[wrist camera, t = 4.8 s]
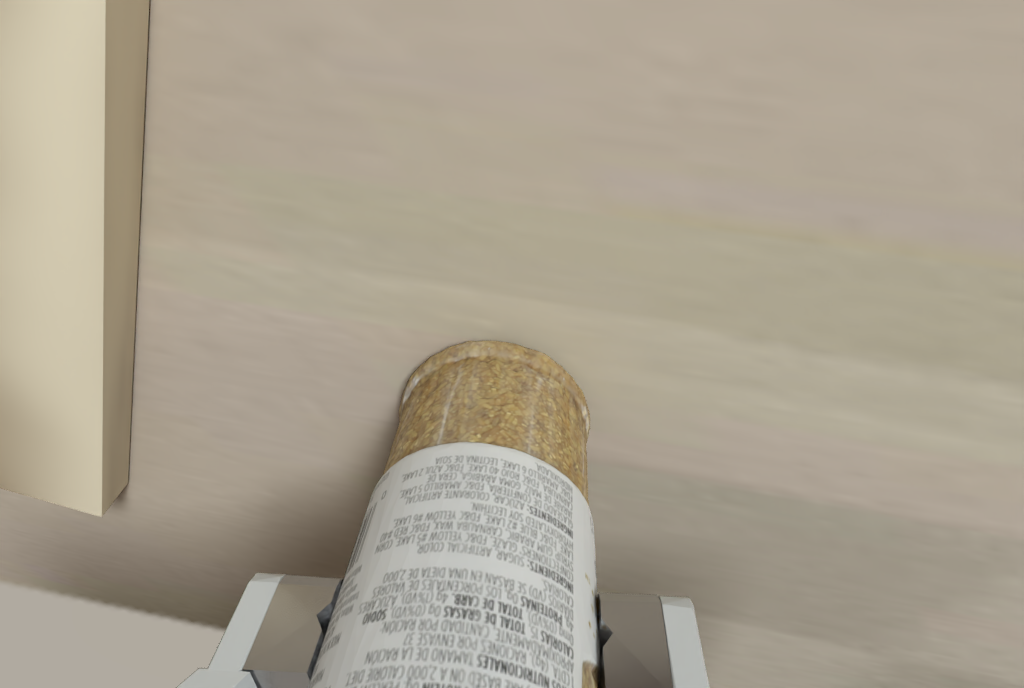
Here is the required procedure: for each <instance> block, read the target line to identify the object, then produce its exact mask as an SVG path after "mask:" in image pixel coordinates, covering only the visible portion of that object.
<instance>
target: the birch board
mask: <svg viewBox="0 0 1024 688" xmlns="http://www.w3.org/2000/svg"><path fill="white" fill-rule="evenodd" d="M149 1H150V0H0V488H1V489H5V490H8V491H12V492H15V493H19V494H22V495H26V496H29V497H33V498H36V499H40V500H43V501H47V502H50V503H54V504H57V505H61V506H64V507H68V508H72V509H75V510H79V511H82V512H86V513H89V514H93V515H96V516H100V517H102V516H103V515H104V514H105V512H106V511H107V510H108V508H109V507H110V506H111V504H112V503H113V502H114V501H115V499H116V498H117V497H118V495H119V494H120V493H121V491H122V490H123V489H124V487H125V486H126V485H127V484H128V474H129V452H130V429H131V407H132V384H133V362H134V339H135V317H136V294H137V272H138V249H139V226H140V204H141V181H142V159H143V136H144V114H145V91H146V69H147V46H148V24H149Z"/></svg>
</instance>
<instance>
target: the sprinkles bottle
mask: <svg viewBox="0 0 1024 688" xmlns="http://www.w3.org/2000/svg"><path fill="white" fill-rule="evenodd" d="M399 422H400V424H399V427H398V430H397V433H396V436H395V439H394V442H393V445H392V448H391V453H390V456H389V459H388V461H387V464H386V467H385V470H384V473H383V476H382V477H381V479H380V480H379V482H378V483H377V485H376V486H375V488H374V491H373V493H372V495H371V498H370V501H369V504H368V507H367V510H366V513H365V516H364V519H363V522H362V525H361V528H360V531H359V534H358V537H357V540H356V543H355V546H354V549H353V552H352V555H351V558H350V561H349V564H348V567H347V570H346V573H345V576H344V580H343V583H342V586H341V589H340V592H339V595H338V598H337V601H336V604H335V607H334V611H333V613H332V616H331V619H330V622H329V625H328V628H327V631H326V634H325V637H324V641H323V644H322V647H321V650H320V653H319V656H318V659H317V662H316V665H315V667H314V670H313V673H312V676H311V679H310V682H309V685H308V688H598V684H599V679H600V663H601V659H600V639H599V629H598V612H597V579H596V559H595V540H594V525H593V520H592V516H591V512H590V509H589V502H588V480H587V458H586V457H587V452H586V443H587V438H588V435H589V430H590V414H589V410H588V406H587V403H586V400H585V397H584V394H583V392H582V390H581V389H580V388H579V387H578V385H577V384H576V383H575V381H574V379H573V378H572V377H571V376H570V375H569V374H568V373H567V372H566V371H565V370H564V369H563V367H562V366H560V365H559V364H557V363H556V362H555V361H554V360H552V359H551V358H550V357H549V356H547V355H546V354H544V353H541V352H539V351H536V350H532V349H528V348H525V347H522V346H520V345H517V344H513V343H506V342H500V341H491V340H487V341H467V342H465V343H462V344H458V345H455V346H452V347H449V348H447V349H445V350H444V351H442V352H440V353H438V354H436V355H434V356H432V357H430V358H429V359H428V360H427V361H426V362H425V363H424V364H422V365H421V366H419V367H418V369H417V370H416V371H415V372H414V373H413V374H412V375H411V377H410V379H409V381H408V383H407V386H406V388H405V390H404V392H403V394H402V399H401V404H400V408H399Z"/></svg>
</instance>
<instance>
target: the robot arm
mask: <svg viewBox="0 0 1024 688" xmlns="http://www.w3.org/2000/svg"><path fill="white" fill-rule="evenodd" d="M343 580H344V578H330V577H313V576H297V575H288V574H270V573H256V574H255V575H254V577H253V578H252V579H251V580H250V581H249V583H248V584H247V586H246V589H245V591H244V593H243V595H242V597H241V599H240V601H239V603H238V605H237V607H236V610H235V612H234V614H233V616H232V618H231V620H230V622H229V624H228V626H227V629H226V631H225V633H224V635H223V637H222V639H221V641H220V643H219V645H218V647H217V650H216V652H215V654H214V656H213V658H212V660H211V662H210V664H209V667H208V668H198V669H197V670H196V671H195V672H194V673H192V674H191V675H190V676H189V677H188V678H187V679H186V680H184V681H183V682H182V683H181V684H180V685H179V686H177V687H176V688H308V685H309V682H310V679H311V676H312V673H313V670H314V667H315V665H316V662H317V659H318V656H319V653H320V650H321V647H322V644H323V641H324V637H325V634H326V631H327V628H328V625H329V622H330V619H331V616H332V613H333V611H334V607H335V604H336V601H337V598H338V595H339V592H340V589H341V586H342V583H343ZM597 612H598V629H599V639H600V659H601V663H600V679H599V684H598V688H710V687H709V682H708V677H707V672H706V667H705V662H704V657H703V652H702V646H701V641H700V636H699V631H698V626H697V621H696V616H695V611H694V606H693V604H692V602H691V600H690V598H688V597H679V596H657V595H651V594H625V593H598V595H597Z"/></svg>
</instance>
